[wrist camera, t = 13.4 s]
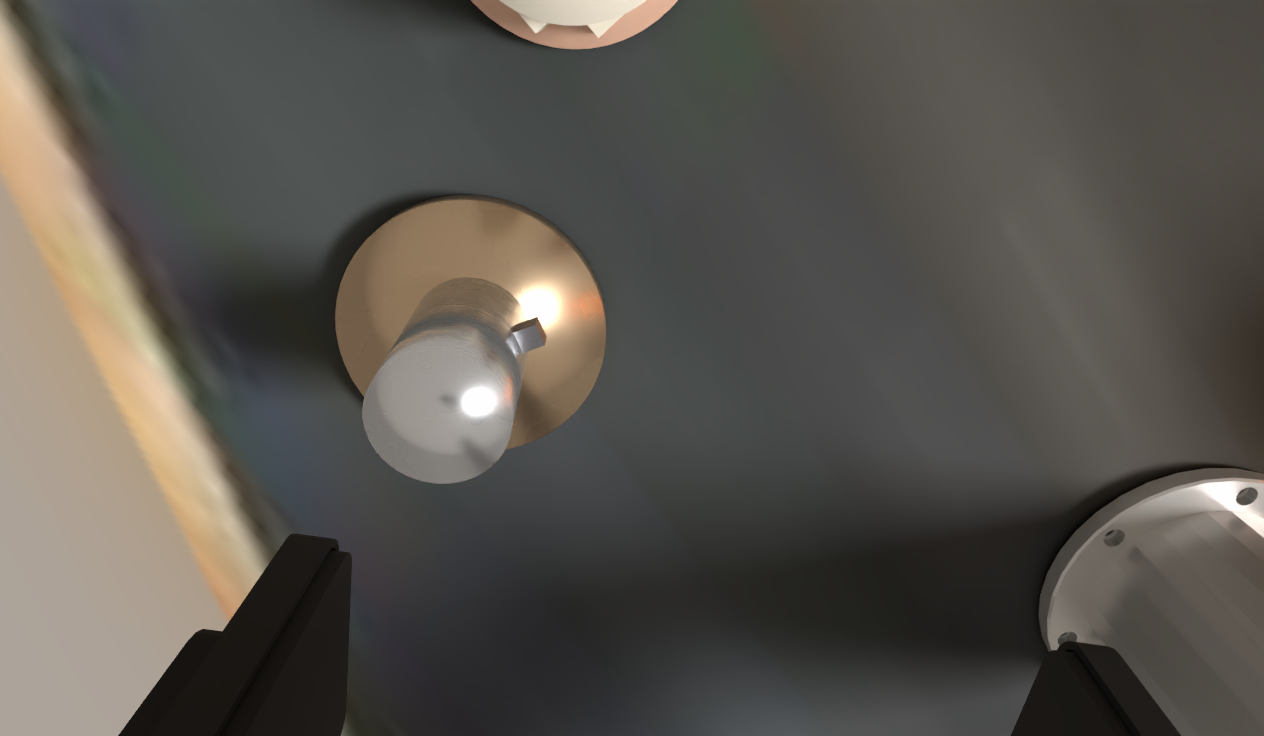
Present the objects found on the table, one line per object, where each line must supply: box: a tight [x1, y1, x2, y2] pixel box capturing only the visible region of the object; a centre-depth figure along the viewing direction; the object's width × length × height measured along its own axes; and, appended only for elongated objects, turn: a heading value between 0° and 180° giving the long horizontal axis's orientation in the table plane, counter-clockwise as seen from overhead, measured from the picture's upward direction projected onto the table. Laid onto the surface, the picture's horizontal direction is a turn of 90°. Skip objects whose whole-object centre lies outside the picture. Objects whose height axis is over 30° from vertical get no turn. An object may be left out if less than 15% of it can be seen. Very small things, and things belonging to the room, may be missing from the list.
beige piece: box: [335, 194, 606, 484], centre depth 29 cm, size 10×10×8 cm
